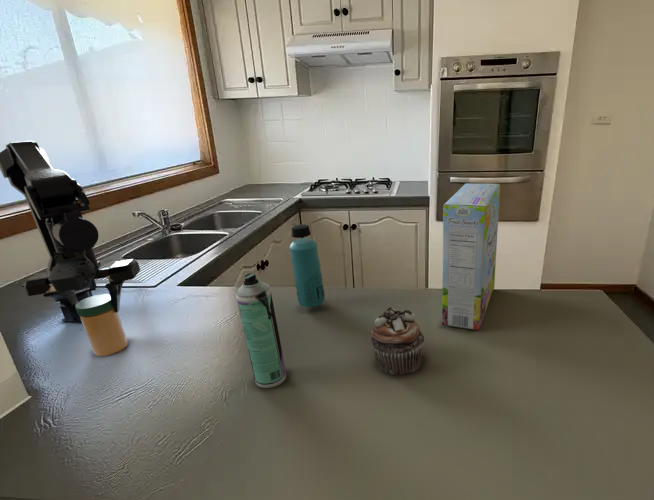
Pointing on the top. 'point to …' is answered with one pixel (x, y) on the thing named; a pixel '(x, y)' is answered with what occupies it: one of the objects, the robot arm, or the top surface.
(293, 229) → the beverage bottle
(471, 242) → the snack box
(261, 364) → the spray can
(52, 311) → the top surface
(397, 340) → the cupcake
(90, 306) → the jam lid
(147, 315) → the top surface
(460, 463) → the top surface
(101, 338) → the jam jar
